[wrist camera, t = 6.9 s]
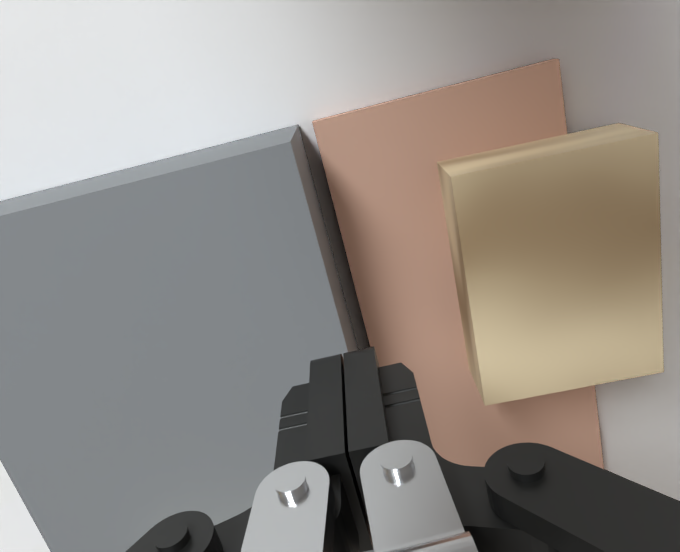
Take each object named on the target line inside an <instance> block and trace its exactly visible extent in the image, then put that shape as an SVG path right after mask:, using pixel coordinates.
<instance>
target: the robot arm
mask: <svg viewBox="0 0 680 552" xmlns="http://www.w3.org/2000/svg"><path fill="white" fill-rule="evenodd" d="M343 358H344V359H343ZM280 417H281V419H280V422H279V432H278V438H277V447H276V455H275V463H274V471H273V472H271V473H270V474H269V475H267V476H266V477H265V478H264V479H263V481H262V482H261V483H260V485H259V486H258V488H257V490H256V493H255V497H254V501H253V505H252V507H251V508H249V509H247V510H246V511H244V512H242V513H241V514H239V515H237V516H234V517H232V518H230V519H228V520H226V521H224V522H222V523H219V524H217V525H215V526H214V524H213V522H212V520H211V518H210V517H209V516H208V515H207V514H205V513H203V512H200V511H184V512H180V513H177V514H174V515H171V516H169V517H167V518H165V519H163V520H162V521H160V522H159V523H157V524H156V525H155V526H153V527H152V528H151V529H150V530H149V531H148V532H147V533H145V534H144V535H143V536H142V537H141V538H140V539H139V540H138V541H137V542H136V543H134V544H133V545H132V546H131V547H130V548H129V549H128V550H127V551H126V552H364V551H369V550H373V547H374V552H680V501H678V500H675V499H673V498H671V497H668V496H666V495H664V494H661V493H659V492H656V491H654V490H652V489H649V488H647V487H645V486H642V485H640V484H637V483H635V482H633V481H630V480H628V479H626V478H623V477H621V476H619V475H616V474H614V473H611V472H609V471H607V470H604V469H602V468H600V467H597V466H595V465H592V464H590V463H588V462H585V461H583V460H581V459H578V458H576V457H574V456H571V455H569V454H566V453H564V452H562V451H559V450H557V449H555V448H552V447H550V446H547V445H543V444H539V443H530V442H528V443H516V444H512V445H508V446H505V447H503V448H501V449H499V450H497V451H496V452H495V453H493V454H492V455H491V456H490V457H489V459H488V460H487V462H486V464H485V467H478V466H464V465H459V464H455V463H452V462H450V461H448V460H446V459H444V458H443V457H441V456H440V455H439V454H438V453H437V452H436V451H435V449H434V448H433V446H432V443H431V439H430V435H429V431H428V427H427V424H426V420H425V416H424V412H423V408H422V404H421V401H420V397H419V393H418V389H417V385H416V381H415V377H414V374H413V372H412V371H411V370H410V369H408V368H407V367H406V366H405V365H404V364H402V363H401V362H400V363H396V364H391V365H387V366H382V367H379V363H378V359H377V355H376V351H375V348H374V346H373V347H369V348H364V349H360V350H355V351H351V352H347V353H344V354H343V356H342V354H338V355H334V356H329V357H325V358H320V359H316V360H311V361H310V376H309V383H306V384H301V385H297V386H292V388H291V389H290V391H289V392H288V394H287V395H286V396H285V398H284V399H283V401H282V406H281V414H280ZM372 541H373V542H372Z"/></svg>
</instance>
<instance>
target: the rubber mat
mask: <svg viewBox="0 0 680 552" xmlns="http://www.w3.org/2000/svg"><path fill="white" fill-rule="evenodd" d="M312 123H313V127H314V131H315V135H316V139H317V143H318V146H319V150H320V154H321V158H322V162H323V166H324V170H325V173H326V177H327V181H328V185H329V189H330V193H331V197H332V201H333V204H334V208H335V212H336V216H337V220H338V224H339V228H340V232H341V235H342V239H343V243H344V247H345V251H346V255H347V259H348V263H349V266H350V270H351V274H352V278H353V282H354V286H355V290H356V293H357V297H358V301H359V305H360V309H361V313H362V317H363V321H364V324H365V328H366V332H367V336H368V340H369V344H370V347H373V346H374V348H375V351H376V355H377V359H378V363H379V367H382V366H387V365H391V364H396V363H400V362H401V363H402V364H404V365H405V366H406V367H407V368H408V369H410V370H411V371H412V372H413V374H414V377H415V381H416V385H417V389H418V393H419V397H420V401H421V404H422V408H423V412H424V416H425V420H426V424H427V427H428V431H429V435H430V439H431V443H432V446H433V448H434V449H435V451H436V452H437V453H438V454H439V455H440V456H441V457H443V458H444V459H446V460H448V461H450V462H452V463H455V464H459V465H464V466H478V467H485V464H486V462H487V460H488V459H489V457H490V456H491V455H492V454H493V453H495V452H496V451H497V450H499V449H501V448H503V447H505V446H508V445H512V444H516V443H528V442H530V443H539V444H543V445H547V446H550V447H552V448H555V449H557V450H559V451H562V452H564V453H566V454H569V455H571V456H574V457H576V458H578V459H581V460H583V461H585V462H588V463H590V464H592V465H595V466H597V467H600V468H602V469H604V465H603V456H602V447H601V437H600V428H599V419H598V410H597V401H596V392H595V385H593V386H588V387H582V388H577V389H572V390H567V391H561V392H556V393H551V394H545V395H540V396H535V397H529V398H524V399H519V400H513V401H508V402H503V403H497V404H492V405H487V406H485V405H484V403H483V400H482V398H481V396H480V393H479V391H478V389H477V386H476V384H475V382H474V380H473V377H472V375H471V373H470V370H469V366H468V360H467V353H466V347H465V340H464V334H463V328H462V321H461V315H460V308H459V302H458V295H457V289H456V283H455V276H454V270H453V263H452V257H451V251H450V244H449V238H448V231H447V225H446V218H445V212H444V206H443V199H442V193H441V186H440V180H439V173H438V167H437V162H439V161H444V160H449V159H453V158H458V157H463V156H467V155H472V154H476V153H481V152H486V151H490V150H495V149H500V148H504V147H509V146H514V145H518V144H523V143H528V142H532V141H537V140H542V139H546V138H551V137H555V136H560V135H565V134H567V127H566V118H565V109H564V100H563V90H562V81H561V72H560V63H559V59H551V60H547V61H543V62H539V63H535V64H531V65H527V66H523V67H520V68H516V69H512V70H508V71H504V72H500V73H496V74H492V75H489V76H485V77H481V78H477V79H473V80H469V81H465V82H461V83H458V84H454V85H450V86H446V87H442V88H438V89H434V90H430V91H426V92H423V93H419V94H415V95H411V96H407V97H403V98H399V99H395V100H392V101H388V102H384V103H380V104H376V105H372V106H368V107H364V108H361V109H357V110H353V111H349V112H345V113H341V114H337V115H333V116H330V117H326V118H322V119H318V120H314V121H313V122H312Z"/></svg>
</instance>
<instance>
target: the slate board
mask: <svg viewBox="0 0 680 552" xmlns="http://www.w3.org/2000/svg"><path fill="white" fill-rule="evenodd" d="M355 350H358V347H357V343H356V339H355V335H354V332H353V328H352V324H351V320H350V317H349V313H348V309H347V305H346V302H345V298H344V294H343V290H342V287H341V283H340V279H339V275H338V272H337V268H336V264H335V260H334V257H333V253H332V249H331V245H330V242H329V238H328V234H327V230H326V227H325V223H324V219H323V215H322V212H321V208H320V204H319V201H318V197H317V193H316V189H315V186H314V182H313V178H312V174H311V171H310V167H309V163H308V159H307V156H306V152H305V148H304V144H303V141H302V137H301V133H300V129H299V126H298V125H295V126H291V127H287V128H283V129H279V130H275V131H271V132H267V133H264V134H260V135H256V136H252V137H248V138H244V139H240V140H236V141H233V142H229V143H225V144H221V145H217V146H213V147H209V148H205V149H202V150H198V151H194V152H190V153H186V154H182V155H178V156H174V157H171V158H167V159H163V160H159V161H155V162H151V163H147V164H143V165H139V166H136V167H132V168H128V169H124V170H120V171H116V172H112V173H108V174H105V175H101V176H97V177H93V178H89V179H85V180H81V181H77V182H74V183H70V184H66V185H62V186H58V187H54V188H50V189H46V190H43V191H39V192H35V193H31V194H27V195H23V196H19V197H15V198H11V199H8V200H4V201H0V460H1V462H2V464H3V466H4V468H5V469H6V471H7V473H8V475H9V477H10V478H11V480H12V482H13V484H14V486H15V488H16V489H17V491H18V493H19V495H20V497H21V498H22V500H23V502H24V504H25V506H26V508H27V509H28V511H29V513H30V515H31V517H32V518H33V520H34V522H35V524H36V526H37V528H38V529H39V531H40V533H41V535H42V537H43V538H44V540H45V542H46V544H47V546H48V548H49V549H50V551H51V552H126V551H127V550H128V549H129V548H130V547H131V546H132V545H133V544H134V543H136V542H137V541H138V540H139V539H140V538H141V537H142V536H143V535H144V534H145V533H147V532H148V531H149V530H150V529H151V528H152V527H153V526H155V525H156V524H157V523H159V522H160V521H162V520H163V519H165V518H167V517H169V516H171V515H174V514H177V513H180V512H184V511H200V512H203V513H205V514H207V515H208V516H209V517H210V518H211V520H212V522H213V524H214V526H215V525H217V524H219V523H222V522H224V521H226V520H228V519H230V518H232V517H234V516H237V515H239V514H241V513H242V512H244V511H246V510H247V509H249V508H251V507H252V505H253V501H254V497H255V493H256V490H257V488H258V486H259V485H260V483H261V482H262V481H263V479H264V478H265V477H266V476H267V475H269V474H270V473H271V472H273V471H274V463H275V455H276V447H277V438H278V432H279V422H280V419H281V417H280V414H281V406H282V401H283V399H284V398H285V396H286V395H287V394H288V392H289V391H290V389H291V388H292V386H297V385H301V384H306V383H309V376H310V361H311V360H316V359H320V358H325V357H329V356H334V355H338V354H342V356H343V354H344V353H347V352H351V351H355ZM343 359H344V358H343ZM372 542H373V541H372ZM364 552H374V547H373V550H369V551H364Z"/></svg>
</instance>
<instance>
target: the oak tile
mask: <svg viewBox="0 0 680 552" xmlns="http://www.w3.org/2000/svg"><path fill="white" fill-rule="evenodd" d="M437 167H438V173H439V180H440V186H441V193H442V199H443V206H444V212H445V218H446V225H447V231H448V238H449V244H450V251H451V257H452V263H453V270H454V276H455V283H456V289H457V295H458V302H459V308H460V315H461V321H462V328H463V334H464V340H465V347H466V353H467V360H468V366H469V370H470V373H471V375H472V377H473V380H474V382H475V384H476V386H477V389H478V391H479V393H480V396H481V398H482V400H483V403H484V405H485V406H487V405H492V404H497V403H503V402H508V401H513V400H519V399H524V398H529V397H535V396H540V395H545V394H551V393H556V392H561V391H567V390H572V389H577V388H582V387H588V386H593V385H598V384H604V383H609V382H614V381H620V380H625V379H630V378H636V377H641V376H646V375H652V374H657V373H662V372H664V365H663V320H662V276H661V231H660V187H659V142H658V132H654V131H649V130H645V129H641V128H637V127H633V126H629V125H625V124H621V123H616V124H611V125H607V126H602V127H597V128H593V129H588V130H583V131H579V132H574V133H569V134H565V135H560V136H555V137H551V138H546V139H542V140H537V141H532V142H528V143H523V144H518V145H514V146H509V147H504V148H500V149H495V150H490V151H486V152H481V153H476V154H472V155H467V156H463V157H458V158H453V159H449V160H444V161H439V162H437Z"/></svg>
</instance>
